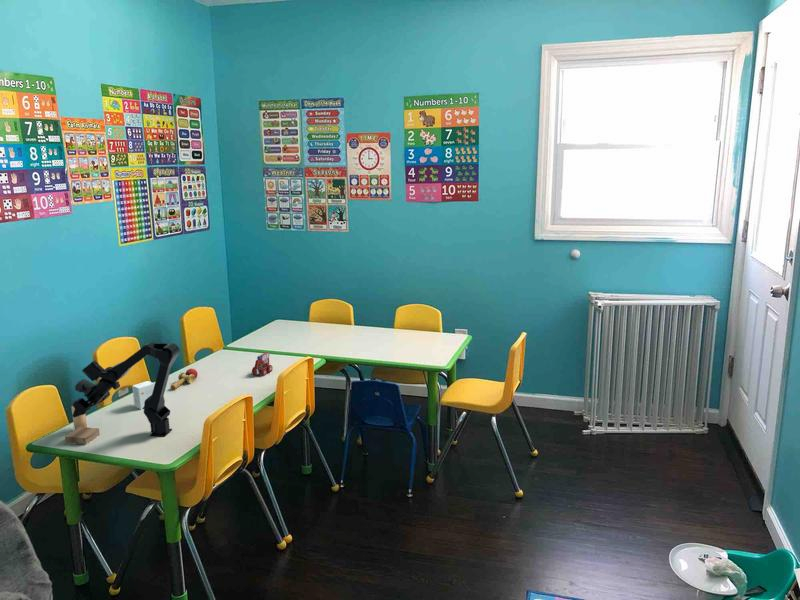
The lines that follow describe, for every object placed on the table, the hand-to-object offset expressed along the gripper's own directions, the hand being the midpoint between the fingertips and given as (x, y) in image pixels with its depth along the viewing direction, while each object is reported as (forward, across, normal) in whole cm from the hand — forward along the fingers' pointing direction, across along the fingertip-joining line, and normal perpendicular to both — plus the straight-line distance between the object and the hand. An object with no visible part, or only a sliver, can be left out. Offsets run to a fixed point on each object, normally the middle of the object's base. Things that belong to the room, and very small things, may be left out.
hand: (80, 412), depth 265 cm
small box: (-4, -27, +16) cm, 32 cm away
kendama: (-8, -56, +20) cm, 60 cm away
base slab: (+2, +8, +9) cm, 12 cm away
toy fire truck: (-33, -73, +44) cm, 92 cm away
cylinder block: (+6, 0, +6) cm, 8 cm away
